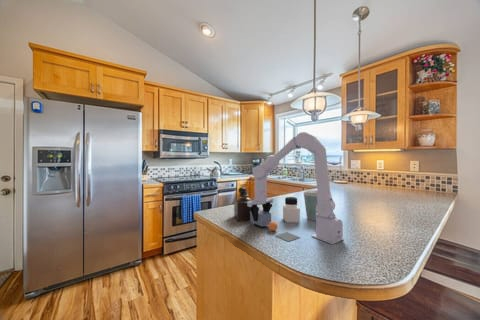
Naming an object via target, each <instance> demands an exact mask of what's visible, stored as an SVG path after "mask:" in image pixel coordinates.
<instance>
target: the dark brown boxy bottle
mask: <svg viewBox="0 0 480 320" xmlns="http://www.w3.org/2000/svg"><path fill="white" fill-rule="evenodd" d="M247 189H248V188H247V187H244V186H243V187H242V186H241V187H239V188H238V190H237V191H238V193H239V197H238V198H237V199H235V198H234V199H233V200H234V201H233V205H234V207H233V209H234V210H233V211H234V214H233V217H234V218H235V220H236V221H237V222H248V221H249V222H250V211H251V210H250V208H249V206H247V202H250V201H253V200H254V198H250V197H249V195H250V194H249V193H248V191H247ZM256 206H257V207H258V205H256Z"/></svg>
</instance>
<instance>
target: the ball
mask: <svg viewBox="0 0 480 320" xmlns="http://www.w3.org/2000/svg"><path fill="white" fill-rule="evenodd" d="M267 226H268V229H269V230H270V231H272V232H274V231H276V230H277V229H278V224H277V222H276V221H271V222H270V223H269V225H267Z"/></svg>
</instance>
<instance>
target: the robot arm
mask: <svg viewBox="0 0 480 320" xmlns="http://www.w3.org/2000/svg"><path fill="white" fill-rule="evenodd" d="M300 149H305V150H307V152H310V153H311V154H312V155H313V160H314V161H313V162H314V168H315V169H314V170H315V179H316V190H317V191H318V195H317V205H316V212H317V213H316V220H315V233H314V234H311V237H312V238H314V239H318V240H320V241H322V242H326V243H328V244H331V245H335V244H337V243H338V242H340V241H343V240H344V237H343V236H344V234H343V232H344V231H343V230H344V229H343V225H344V224H343V221H342V219H339V218H337V217H336V214H335V213H334V211H335V208H336V203H335V201H334V199H333V196H332V193H331V189H330V188H331V186H330V175H329V168H328V167H329V166H328V157H327V156H328V155H327V149H326V147H325V146H324V145H323V144H322V143H321V141H320V140H319V139H318V138H317V137H316V136H314V135H312V134H310V133H309V132H304V131H303V132H302V131H300V132H299V133H298V134H297V135H296V136H293V137H292V138H291V139H290V140H289V141H288V142H287V143H286V144H285V145H284V146H283V147H282V148H281V149H280V150H279V151H277V153H275V154H274V155H268V156H266V157H265V158H266V159H265V160H264V161H263V162H260V163H259V165H256V166H254V168H253V169H252V175H253V177H254V198H253V201H250V202H247V206H249V208H250V210H251V213H252V216H253V220H254V221H257V220H258V211H259V209H260V207H258V206H260V205H261V206H262V210H263V211H266V212H269V213H270V211H271V209H272V207H273V203H274V198H267V197H268V196H267V188H268V187H267V186H268V184H267V177H268V176H269V174H270V173H271V172H273V171H274V170H275V169H276V168H277V167H278V166H279V165H280V161H281V160H282V159H283V158H285V157H287V156H288V155H289V154H290V153H292V152H293V151H294V150H295V151H296V150H300ZM256 205H257V206H256Z"/></svg>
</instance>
